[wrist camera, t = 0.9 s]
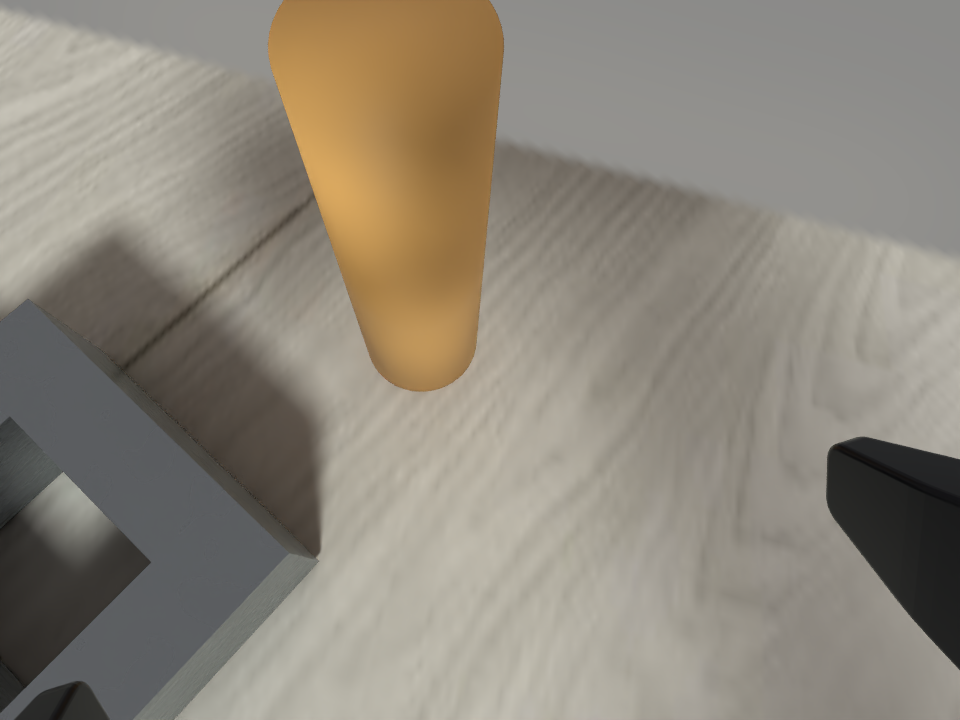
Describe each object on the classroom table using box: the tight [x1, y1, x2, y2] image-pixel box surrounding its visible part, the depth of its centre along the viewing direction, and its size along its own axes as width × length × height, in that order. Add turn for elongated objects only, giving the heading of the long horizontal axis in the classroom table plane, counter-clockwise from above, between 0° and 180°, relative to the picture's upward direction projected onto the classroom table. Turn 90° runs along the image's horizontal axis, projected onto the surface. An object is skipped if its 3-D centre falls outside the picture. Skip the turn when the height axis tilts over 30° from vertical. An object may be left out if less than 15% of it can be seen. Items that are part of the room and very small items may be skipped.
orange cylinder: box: [268, 0, 504, 391], centre depth 17 cm, size 4×4×13 cm
